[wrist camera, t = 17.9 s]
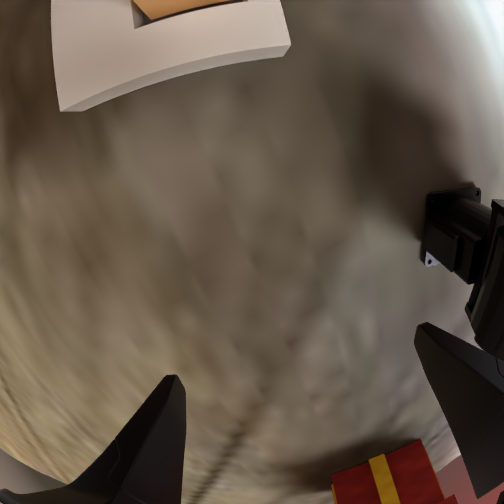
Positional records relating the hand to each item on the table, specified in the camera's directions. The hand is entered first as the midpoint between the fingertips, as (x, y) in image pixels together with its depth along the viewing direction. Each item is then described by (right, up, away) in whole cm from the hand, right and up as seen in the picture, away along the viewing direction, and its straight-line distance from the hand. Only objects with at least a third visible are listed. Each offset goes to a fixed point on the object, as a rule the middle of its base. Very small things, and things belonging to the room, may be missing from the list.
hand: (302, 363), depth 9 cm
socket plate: (-8, +23, +2) cm, 24 cm away
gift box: (+26, -43, +35) cm, 61 cm away
